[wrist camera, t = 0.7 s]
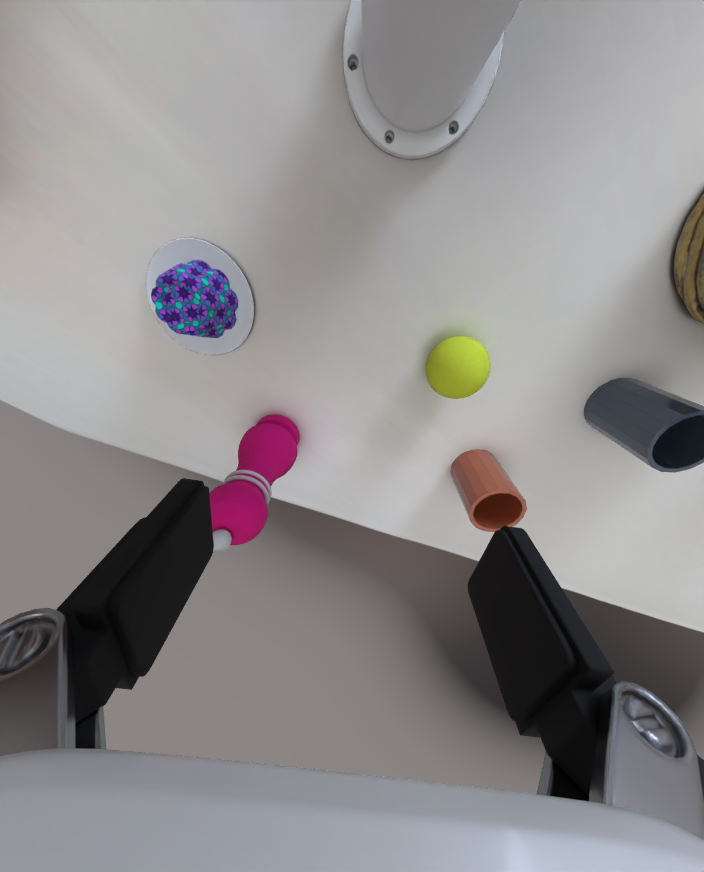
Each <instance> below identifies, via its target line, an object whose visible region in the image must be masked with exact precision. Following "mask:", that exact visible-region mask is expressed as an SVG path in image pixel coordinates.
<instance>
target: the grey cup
mask: <svg viewBox="0 0 704 872" xmlns="http://www.w3.org/2000/svg"><path fill="white" fill-rule="evenodd" d="M584 416H585V419H586V421H587V422H588V423H589V424H590V425H591V426H592V427H593V428H595V429H596V430H598V431H599V432H601V433H602V434H604V435H605V436H606V437H608V438H609V439H611V440H612V441H614V442H615V443H617V444H618V445H620V446H621V447H623V448H624V449H626V450H627V451H629V452H630V453H632V454H633V455H635V456H636V457H637V458H639V459H640V460H642V461H643V462H645V463H646V464H648V465H649V466H651V467H653V468H655V469H657V470H659V471H661V472H679V471H683V470H687V469H691V468H693V467H695V466H697V465H699V464H701V463H703V462H704V406H702V405H699V404H696V403H694V402H691V401H689V400H686V399H684V398H681V397H679V396H676V395H674V394H671V393H669V392H666V391H664V390H661V389H658V388H656V387H653V386H651V385H648V384H646V383H643V382H641V381H638V380H634V379H631V378H621V379H616V380H613V381H610V382H608V383H606V384H604V385H602V386H601V387H599V388H598V389H597V390H596V391H595V392H594V393H593V394H592V395H591V396H590V398H589V399H588V401H587V403H586V405H585V409H584Z"/></svg>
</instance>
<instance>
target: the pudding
mask: <svg viewBox="0 0 704 872" xmlns="http://www.w3.org/2000/svg"><path fill="white" fill-rule="evenodd" d="M146 292H147V297H148V301H149V304H150V307H151V309H152V312H153V314H154V315H155V317H156V319H157V321H158V322H159V324H160V325H161V326H162V328H163V329H164V330H165V331H166V332H167V334H168V335H169V336H170V337H171V338H173V339H174V340H175V341H176V342H178V343H179V344H180V345H182V346H184V347H185V348H187V349H189V350H192V351H194V352H196V353H200V354H204V355H221V354H225V353H228V352H231V351H232V350H234V349H236V348H237V347H239V346H240V345H241V344H242V343H243V342H244V340H245V339H246V338H247V336H248V334H249V332H250V330H251V327H252V323H253V318H254V304H253V297H252V293H251V290H250V287H249V285H248V282H247V280H246V278H245V276H244V275H243V273H242V271H241V269H240V268H239V267H238V266H237V264H236V263H235V262H234V261H233V260H232V259H231V258H230V257H229V256H228V255H227V254H226V253H225V252H223V251H222V250H220V249H219V248H218V247H216V246H214V245H212V244H210V243H208V242H206V241H203V240H199V239H195V238H180V239H175V240H172V241H170V242H167V243H166V244H164V245H163V246H161V247H160V248H159V249H158V250H157V251H156V252H155V254H154V255H153V257H152V259H151V261H150V262H149V265H148V269H147V273H146Z"/></svg>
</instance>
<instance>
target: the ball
mask: <svg viewBox="0 0 704 872" xmlns="http://www.w3.org/2000/svg"><path fill="white" fill-rule="evenodd" d="M489 373H490V358H489V355H488V352H487V350H486V349H485V347H484V346H483V345H482V344H481V343H480V342H478V341H477V340H475V339H473V338H470V337H466V336H456V337H451V338H448V339H446V340H444V341H442V342H441V343H439V344H438V345H437V346H436V347H435V348H434V349H433V350H432V352H431V353H430V355H429V357H428V360H427V363H426V376H427V379H428V382H429V384H430V385H431V387H432V388H433V389H434V390H435V391H436V392H437V393H438V394H440V395H442V396H444V397H447V398H454V399H459V398H464V397H467V396H470V395H472V394H474V393H475V392H477V391H478V390H479V389H480V388H481V387H482V386H483V385H484V384H485V382H486V380H487V378H488V376H489Z"/></svg>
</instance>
